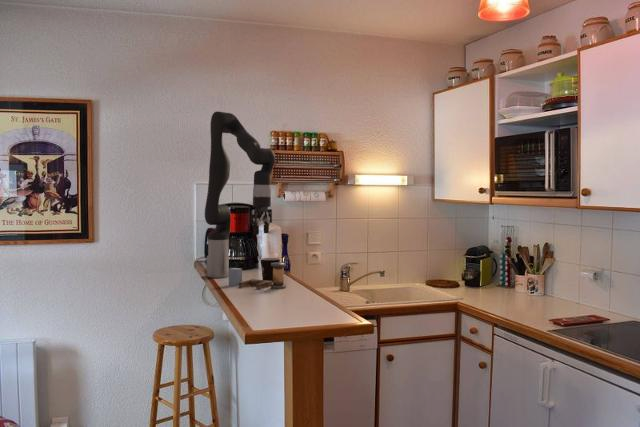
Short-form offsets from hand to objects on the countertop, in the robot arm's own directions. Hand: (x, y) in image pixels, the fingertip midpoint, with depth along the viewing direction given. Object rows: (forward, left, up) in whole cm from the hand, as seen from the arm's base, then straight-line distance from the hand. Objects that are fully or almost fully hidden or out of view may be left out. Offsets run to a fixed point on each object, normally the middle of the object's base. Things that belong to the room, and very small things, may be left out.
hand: (261, 234), depth 227 cm
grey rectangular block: (-9, -6, -22) cm, 24 cm away
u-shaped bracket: (+1, -5, -22) cm, 22 cm away
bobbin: (+10, -3, -21) cm, 24 cm away
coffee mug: (-1, +10, -22) cm, 24 cm away
